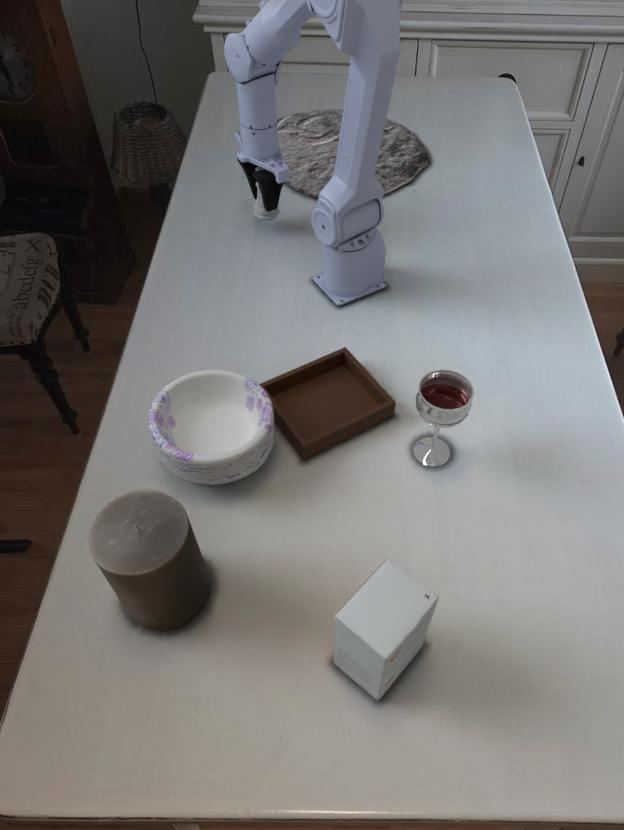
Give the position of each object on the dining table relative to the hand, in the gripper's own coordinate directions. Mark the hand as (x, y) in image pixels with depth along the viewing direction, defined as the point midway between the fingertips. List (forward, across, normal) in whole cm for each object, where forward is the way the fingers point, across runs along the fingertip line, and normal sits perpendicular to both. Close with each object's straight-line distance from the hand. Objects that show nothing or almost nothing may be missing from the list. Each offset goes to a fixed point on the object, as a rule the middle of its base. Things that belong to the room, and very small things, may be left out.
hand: (265, 203), depth 108 cm
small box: (+5, +75, -28) cm, 80 cm away
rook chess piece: (+2, 0, 0) cm, 2 cm away
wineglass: (+5, +56, -6) cm, 56 cm away
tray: (+5, +42, -14) cm, 44 cm away
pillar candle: (+5, +56, -44) cm, 71 cm away
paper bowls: (+5, +41, -30) cm, 51 cm away
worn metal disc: (+4, -15, +25) cm, 30 cm away
